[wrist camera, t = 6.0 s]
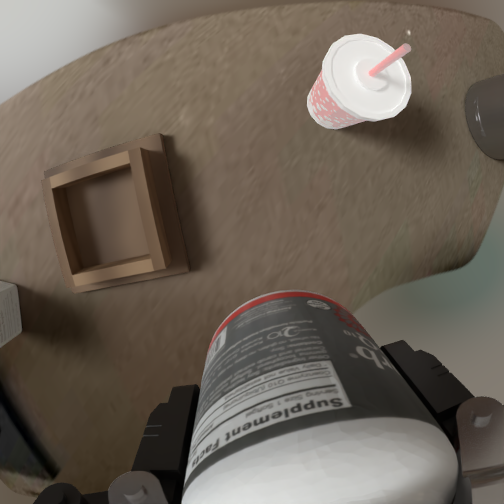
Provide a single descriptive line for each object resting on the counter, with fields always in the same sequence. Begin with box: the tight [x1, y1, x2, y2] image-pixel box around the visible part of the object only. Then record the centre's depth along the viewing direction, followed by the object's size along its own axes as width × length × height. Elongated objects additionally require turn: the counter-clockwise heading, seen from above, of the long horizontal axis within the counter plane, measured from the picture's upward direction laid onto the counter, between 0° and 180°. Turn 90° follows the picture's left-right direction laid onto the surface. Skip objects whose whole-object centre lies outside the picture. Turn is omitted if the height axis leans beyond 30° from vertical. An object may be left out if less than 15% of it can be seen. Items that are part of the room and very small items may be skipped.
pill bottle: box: [182, 290, 459, 504], centre depth 6 cm, size 6×6×10 cm
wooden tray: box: [41, 133, 190, 294], centre depth 25 cm, size 12×12×4 cm
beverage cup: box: [307, 34, 411, 129], centre depth 19 cm, size 6×6×14 cm
